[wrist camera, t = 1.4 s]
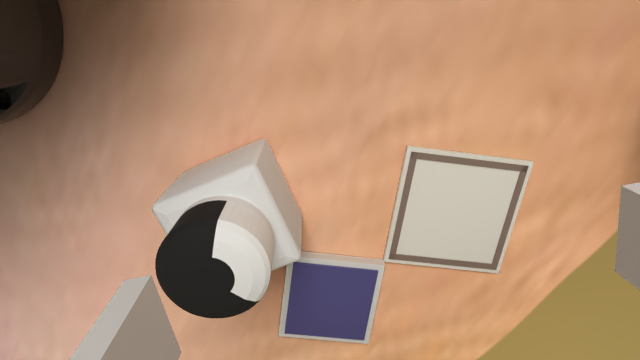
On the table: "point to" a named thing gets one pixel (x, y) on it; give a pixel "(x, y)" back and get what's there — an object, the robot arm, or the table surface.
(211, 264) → the medicine bottle
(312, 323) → the ink pad
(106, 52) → the table surface
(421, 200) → the print card
